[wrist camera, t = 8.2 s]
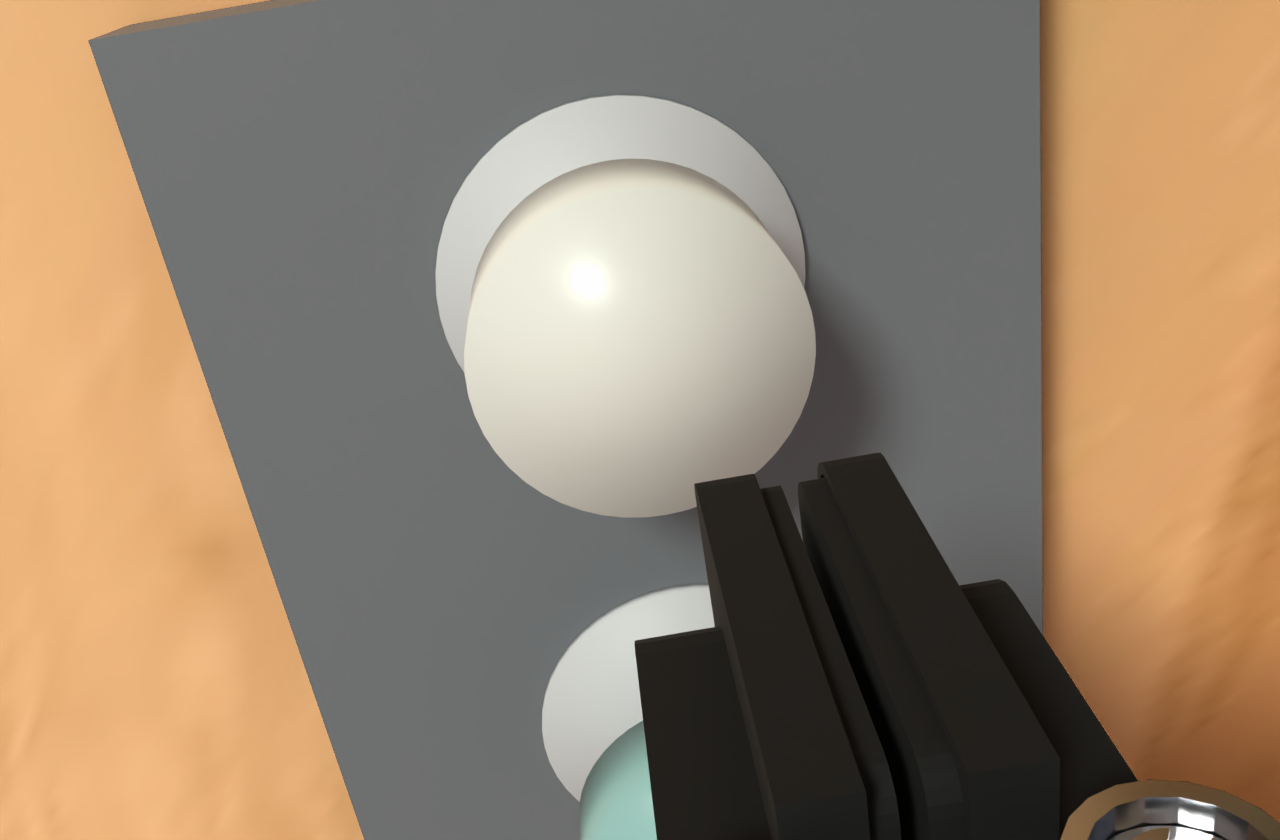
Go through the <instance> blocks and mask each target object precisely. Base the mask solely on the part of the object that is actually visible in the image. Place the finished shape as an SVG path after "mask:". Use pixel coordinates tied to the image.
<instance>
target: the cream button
mask: <svg viewBox="0 0 1280 840" xmlns="http://www.w3.org/2000/svg"><path fill="white" fill-rule="evenodd" d="M815 358H816V339H815V328H814V322H813V316H812V311H811V308H810V305H809V301H808V298H807V295H806V292H805V290H804V288H803V286H802V283H801V281H800V279H799V277H798V275H797V273H796V271H795V270H794V268H793V267H792V265H791V264H790V262H789V261H788V259H787V258H786V256H785V255H784V253H783V252H782V251H781V249H780V248H779V246H778V245H777V243H776V242H775V240H774V239H773V238H772V236H771V235H770V233H769V232H768V230H767V229H766V228H765V226H764V225H763V223H762V222H761V220H760V219H759V218H758V216H757V215H756V214H755V213H754V212H753V211H752V210H751V209H750V207H749V206H748V205H747V204H746V203H745V202H744V201H743V200H742V199H740V198H739V197H738V196H737V195H736V194H734V193H733V192H732V191H731V190H730V189H728V188H727V187H725V186H724V185H722V184H720V183H719V182H717V181H716V180H714V179H712V178H711V177H709V176H706V175H704V174H702V173H700V172H698V171H695V170H693V169H691V168H687V167H684V166H681V165H677V164H674V163H670V162H664V161H658V160H651V159H618V160H609V161H602V162H598V163H594V164H590V165H586V166H582V167H580V168H577V169H574V170H572V171H569V172H567V173H564V174H562V175H560V176H558V177H556V178H554V179H553V180H551V181H549V182H547V183H545V184H544V185H542V186H541V187H539V188H538V189H537V190H535V191H534V192H532V193H531V194H530V195H528V196H527V197H526V198H524V199H523V200H522V201H521V202H520V203H519V204H518V205H517V206H516V207H515V208H514V209H513V210H512V211H511V212H510V213H509V214H508V215H507V217H506V218H505V219H504V220H503V222H502V223H501V224H500V225H499V227H498V228H497V229H496V231H495V232H494V234H493V236H492V238H491V239H490V241H489V243H488V244H487V246H486V248H485V250H484V252H483V255H482V257H481V259H480V262H479V264H478V267H477V270H476V274H475V278H474V281H473V285H472V291H471V299H470V307H469V315H468V324H467V332H466V340H465V348H464V373H465V380H466V386H467V392H468V397H469V400H470V403H471V406H472V409H473V412H474V415H475V418H476V420H477V422H478V424H479V426H480V428H481V430H482V432H483V434H484V436H485V437H486V439H487V440H488V442H489V443H490V445H491V446H492V448H493V449H494V451H495V452H496V454H497V455H498V456H499V457H500V458H501V459H502V460H503V462H504V463H505V464H506V465H507V466H508V467H509V468H510V469H511V470H512V471H513V472H514V473H515V474H517V475H518V476H519V477H520V478H521V479H522V480H523V481H525V482H526V483H527V484H529V485H530V486H532V487H533V488H535V489H536V490H538V491H539V492H541V493H542V494H544V495H546V496H548V497H550V498H552V499H554V500H556V501H558V502H560V503H562V504H565V505H568V506H570V507H573V508H576V509H579V510H582V511H586V512H590V513H595V514H599V515H604V516H614V517H623V518H640V517H654V516H662V515H669V514H673V513H677V512H681V511H685V510H689V509H692V508H694V507H697V504H696V497H695V488H694V484H695V483H701V482H707V481H712V480H718V479H724V478H730V477H736V476H742V475H748V474H755V473H756V472H757V471H759V470H760V469H761V468H762V467H763V466H764V465H765V464H766V463H767V462H768V461H769V460H770V459H771V458H772V457H773V456H774V454H775V453H776V452H777V451H778V450H779V449H780V447H781V446H782V444H783V443H784V442H785V440H786V439H787V438H788V436H789V435H790V433H791V432H792V430H793V428H794V426H795V424H796V423H797V421H798V419H799V417H800V415H801V413H802V410H803V408H804V405H805V403H806V400H807V398H808V395H809V391H810V387H811V383H812V379H813V375H814V366H815Z"/></svg>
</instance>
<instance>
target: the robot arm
mask: <svg viewBox="0 0 1280 840" xmlns="http://www.w3.org/2000/svg"><path fill="white" fill-rule="evenodd" d="M817 477H818V479H814V480H808V481H802V482H799V483H798V500H799V510H800V519H801V529H802V538H803V541H802V538H801V536H800V533H799V530H798V528H797V525H796V523H795V520H794V518H793V515H792V512H791V510H790V507H789V505H788V502H787V499H786V497H785V494H784V492H783V489H782V487H781V486H780V485H778V486H773V487H767V488H761V489H760V487H759V484H758V482H757V479H756V476H755V474H748V475H742V476H736V477H730V478H724V479H718V480H712V481H707V482H701V483H695V484H694V488H695V497H696V504H697V511H698V518H699V524H700V531H701V538H702V544H703V551H704V558H705V564H706V571H707V578H708V585H709V591H710V598H711V605H712V611H713V618H714V625H715V627H712V628H706V629H700V630H694V631H688V632H682V633H676V634H670V635H665V636H659V637H653V638H647V639H641V640H635V643H634V645H635V655H636V664H637V672H638V681H639V690H640V698H641V707H642V715H643V724H644V733H645V741H646V750H647V758H648V767H649V776H650V784H651V793H652V801H653V810H654V818H655V827H656V836H657V840H1280V823H1279V822H1277V821H1276V820H1275V819H1274V818H1272V817H1271V816H1270V815H1268V814H1267V813H1266V812H1265V811H1263V810H1262V809H1260V808H1258V807H1256V806H1254V805H1252V804H1250V803H1248V802H1246V801H1244V800H1242V799H1240V798H1238V797H1235V796H1233V795H1231V794H1229V793H1227V792H1225V791H1221V790H1217V789H1214V788H1210V787H1206V786H1202V785H1198V784H1194V783H1191V782H1185V781H1168V780H1151V779H1149V780H1143V781H1138V780H1137V779H1136V777H1135V776H1134V774H1133V773H1132V771H1131V770H1130V768H1129V767H1128V765H1127V764H1126V762H1125V761H1124V759H1123V757H1122V756H1121V754H1120V753H1119V751H1118V750H1117V748H1116V747H1115V745H1114V744H1113V742H1112V741H1111V739H1110V738H1109V736H1108V735H1107V733H1106V731H1105V730H1104V728H1103V727H1102V725H1101V724H1100V722H1099V721H1098V719H1097V718H1096V716H1095V715H1094V713H1093V712H1092V710H1091V709H1090V707H1089V705H1088V704H1087V702H1086V701H1085V699H1084V698H1083V696H1082V695H1081V693H1080V692H1079V690H1078V689H1077V687H1076V686H1075V684H1074V683H1073V681H1072V679H1071V678H1070V676H1069V675H1068V673H1067V672H1066V670H1065V669H1064V667H1063V666H1062V664H1061V663H1060V661H1059V660H1058V658H1057V657H1056V655H1055V653H1054V652H1053V650H1052V649H1051V647H1050V646H1049V644H1048V643H1047V641H1046V640H1045V638H1044V637H1043V635H1042V634H1041V632H1040V631H1039V629H1038V627H1037V626H1036V624H1035V623H1034V621H1033V620H1032V618H1031V617H1030V615H1029V614H1028V612H1027V611H1026V609H1025V608H1024V606H1023V604H1022V603H1021V601H1020V600H1019V598H1018V597H1017V595H1016V594H1015V592H1014V591H1013V590H1012V589H1011V587H1010V586H1009V585H1008V584H1007V583H1006V582H1005V581H1003V580H1000V579H995V580H989V581H983V582H977V583H972V584H966V585H960V586H959V584H958V583H957V581H956V579H955V577H954V576H953V574H952V572H951V571H950V569H949V567H948V565H947V564H946V562H945V560H944V559H943V557H942V555H941V553H940V552H939V550H938V548H937V547H936V545H935V543H934V541H933V540H932V538H931V536H930V535H929V533H928V531H927V529H926V528H925V526H924V524H923V523H922V521H921V519H920V517H919V516H918V514H917V512H916V510H915V509H914V507H913V505H912V504H911V502H910V500H909V498H908V497H907V495H906V493H905V492H904V490H903V488H902V486H901V485H900V483H899V481H898V480H897V478H896V476H895V474H894V473H893V471H892V469H891V468H890V466H889V464H888V462H887V461H886V459H885V457H884V456H883V455H882V454H881V453H872V454H866V455H860V456H854V457H848V458H843V459H837V460H831V461H825V462H819V464H818V473H817Z"/></svg>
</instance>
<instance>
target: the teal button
mask: <svg viewBox="0 0 1280 840" xmlns="http://www.w3.org/2000/svg"><path fill="white" fill-rule="evenodd" d="M579 835H580V840H657V836H656V827H655V818H654V810H653V801H652V793H651V784H650V776H649V767H648V758H647V750H646V741H645V733H644V724H643V721H641V722H639V723H638V724H636V725H635V726H633V727H631V728H630V729H628V730H627V731H626V732H625V733H623V734H622V735H621V736H620V737H618V738H617V739H616V740H615V741H614V742H613V743H612V744H611V745H610V746H609V747H608V748H607V749H606V750H605V751H604V752H603V753H602V755H601V756H600V757H599V759H598V760H597V761H596V763H595V764H594V766H593V768H592V769H591V771H590V773H589V775H588V777H587V779H586V781H585V784H584V787H583V789H582V793H581V798H580V803H579Z"/></svg>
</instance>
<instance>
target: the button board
mask: <svg viewBox="0 0 1280 840" xmlns="http://www.w3.org/2000/svg"><path fill="white" fill-rule="evenodd" d="M88 41H89V44H90V47H91V49H92V52H93V55H94V58H95V61H96V64H97V67H98V70H99V73H100V76H101V78H102V81H103V84H104V87H105V90H106V93H107V96H108V99H109V102H110V104H111V107H112V110H113V113H114V116H115V119H116V122H117V125H118V128H119V131H120V133H121V136H122V139H123V142H124V145H125V148H126V151H127V154H128V157H129V159H130V162H131V165H132V168H133V171H134V174H135V177H136V180H137V183H138V186H139V188H140V191H141V194H142V197H143V200H144V203H145V206H146V209H147V212H148V214H149V217H150V220H151V223H152V226H153V229H154V232H155V235H156V238H157V241H158V243H159V246H160V249H161V252H162V255H163V258H164V261H165V264H166V267H167V269H168V272H169V275H170V278H171V281H172V284H173V287H174V290H175V293H176V296H177V298H178V301H179V304H180V307H181V310H182V313H183V316H184V319H185V322H186V324H187V327H188V330H189V333H190V336H191V339H192V342H193V345H194V348H195V351H196V353H197V356H198V359H199V362H200V365H201V368H202V371H203V374H204V377H205V379H206V382H207V385H208V388H209V391H210V394H211V397H212V400H213V403H214V406H215V408H216V411H217V414H218V417H219V420H220V423H221V426H222V429H223V432H224V434H225V437H226V440H227V443H228V446H229V449H230V452H231V455H232V458H233V461H234V463H235V466H236V469H237V472H238V475H239V478H240V481H241V484H242V487H243V489H244V492H245V495H246V498H247V501H248V504H249V507H250V510H251V513H252V516H253V518H254V521H255V524H256V527H257V530H258V533H259V536H260V539H261V542H262V544H263V547H264V550H265V553H266V556H267V559H268V562H269V565H270V568H271V571H272V573H273V576H274V579H275V582H276V585H277V588H278V591H279V594H280V597H281V599H282V602H283V605H284V608H285V611H286V614H287V617H288V620H289V623H290V626H291V628H292V631H293V634H294V637H295V640H296V643H297V646H298V649H299V652H300V654H301V657H302V660H303V663H304V666H305V669H306V672H307V675H308V678H309V681H310V683H311V686H312V689H313V692H314V695H315V698H316V701H317V704H318V707H319V709H320V712H321V715H322V718H323V721H324V724H325V727H326V730H327V733H328V736H329V738H330V741H331V744H332V747H333V750H334V753H335V756H336V759H337V762H338V764H339V767H340V770H341V773H342V776H343V779H344V782H345V785H346V788H347V791H348V793H349V796H350V799H351V802H352V805H353V808H354V811H355V814H356V817H357V819H358V822H359V825H360V828H361V831H362V834H363V837H364V840H580V835H579V803H580V798H581V793H582V789H583V787H584V784H585V781H586V779H587V777H588V775H589V773H590V771H591V769H592V768H593V766H594V764H595V763H596V761H597V760H598V759H599V757H600V756H601V755H602V753H603V752H604V751H605V750H606V749H607V748H608V747H609V746H610V745H611V744H612V743H613V742H614V741H615V740H616V739H617V738H618V737H620V736H621V735H622V734H623V733H625V732H626V731H627V730H628V729H630V728H631V727H633V726H635V725H636V724H638V723H639V722H641V721H643V715H642V707H641V698H640V690H639V681H638V672H637V664H636V655H635V645H634V643H635V640H641V639H647V638H653V637H659V636H665V635H670V634H676V633H682V632H688V631H694V630H700V629H706V628H712V627H715V625H714V618H713V611H712V605H711V598H710V591H709V585H708V578H707V571H706V564H705V558H704V551H703V544H702V538H701V531H700V524H699V518H698V511H697V507H694V508H692V509H689V510H685V511H681V512H677V513H673V514H669V515H662V516H654V517H640V518H623V517H614V516H604V515H599V514H595V513H590V512H586V511H582V510H579V509H576V508H573V507H570V506H568V505H565V504H562V503H560V502H558V501H556V500H554V499H552V498H550V497H548V496H546V495H544V494H542V493H541V492H539V491H538V490H536V489H535V488H533V487H532V486H530V485H529V484H527V483H526V482H525V481H523V480H522V479H521V478H520V477H519V476H518V475H517V474H515V473H514V472H513V471H512V470H511V469H510V468H509V467H508V466H507V465H506V464H505V463H504V462H503V460H502V459H501V458H500V457H499V456H498V455H497V454H496V452H495V451H494V449H493V448H492V446H491V445H490V443H489V442H488V440H487V439H486V437H485V436H484V434H483V432H482V430H481V428H480V426H479V424H478V422H477V420H476V418H475V415H474V412H473V409H472V406H471V403H470V400H469V397H468V392H467V386H466V380H465V373H464V348H465V340H466V332H467V324H468V315H469V307H470V299H471V291H472V285H473V281H474V278H475V274H476V270H477V267H478V264H479V262H480V259H481V257H482V255H483V252H484V250H485V248H486V246H487V244H488V243H489V241H490V239H491V238H492V236H493V234H494V232H495V231H496V229H497V228H498V227H499V225H500V224H501V223H502V222H503V220H504V219H505V218H506V217H507V215H508V214H509V213H510V212H511V211H512V210H513V209H514V208H515V207H516V206H517V205H518V204H519V203H520V202H521V201H522V200H523V199H524V198H526V197H527V196H528V195H530V194H531V193H532V192H534V191H535V190H537V189H538V188H539V187H541V186H542V185H544V184H545V183H547V182H549V181H551V180H553V179H554V178H556V177H558V176H560V175H562V174H564V173H567V172H569V171H572V170H574V169H577V168H580V167H582V166H586V165H590V164H594V163H598V162H602V161H609V160H618V159H651V160H658V161H664V162H670V163H674V164H677V165H681V166H684V167H687V168H691V169H693V170H695V171H698V172H700V173H702V174H704V175H706V176H709V177H711V178H712V179H714V180H716V181H717V182H719V183H720V184H722V185H724V186H725V187H727V188H728V189H730V190H731V191H732V192H733V193H734V194H736V195H737V196H738V197H739V198H740V199H742V200H743V201H744V202H745V203H746V204H747V205H748V206H749V207H750V209H751V210H752V211H753V212H754V213H755V214H756V215H757V216H758V218H759V219H760V220H761V222H762V223H763V225H764V226H765V228H766V229H767V230H768V232H769V233H770V235H771V236H772V238H773V239H774V240H775V242H776V243H777V245H778V246H779V248H780V249H781V251H782V252H783V253H784V255H785V256H786V258H787V259H788V261H789V262H790V264H791V265H792V267H793V268H794V270H795V271H796V273H797V275H798V277H799V279H800V281H801V283H802V286H803V288H804V290H805V292H806V295H807V298H808V301H809V305H810V308H811V311H812V316H813V322H814V328H815V339H816V358H815V366H814V375H813V379H812V383H811V387H810V391H809V395H808V398H807V400H806V403H805V405H804V408H803V410H802V413H801V415H800V417H799V419H798V421H797V423H796V424H795V426H794V428H793V430H792V432H791V433H790V435H789V436H788V438H787V439H786V440H785V442H784V443H783V444H782V446H781V447H780V449H779V450H778V451H777V452H776V453H775V454H774V456H773V457H772V458H771V459H770V460H769V461H768V462H767V463H766V464H765V465H764V466H763V467H762V468H761V469H760V470H759V471H757V472H756V473H755V476H756V479H757V482H758V484H759V487H760V489H761V488H767V487H773V486H778V485H780V486H781V487H782V489H783V492H784V494H785V497H786V499H787V502H788V505H789V507H790V510H791V512H792V515H793V518H794V520H795V523H796V525H797V528H798V530H799V533H800V536H801V538H802V529H801V519H800V510H799V500H798V483H799V482H802V481H808V480H814V479H818V477H817V473H818V464H819V462H825V461H831V460H837V459H843V458H848V457H854V456H860V455H866V454H872V453H881V454H882V455H883V456H884V457H885V459H886V461H887V462H888V464H889V466H890V468H891V469H892V471H893V473H894V474H895V476H896V478H897V480H898V481H899V483H900V485H901V486H902V488H903V490H904V492H905V493H906V495H907V497H908V498H909V500H910V502H911V504H912V505H913V507H914V509H915V510H916V512H917V514H918V516H919V517H920V519H921V521H922V523H923V524H924V526H925V528H926V529H927V531H928V533H929V535H930V536H931V538H932V540H933V541H934V543H935V545H936V547H937V548H938V550H939V552H940V553H941V555H942V557H943V559H944V560H945V562H946V564H947V565H948V567H949V569H950V571H951V572H952V574H953V576H954V577H955V579H956V581H957V583H958V584H959V586H960V585H966V584H972V583H977V582H983V581H989V580H995V579H1000V580H1003V581H1005V582H1006V583H1007V584H1008V585H1009V586H1010V587H1011V589H1012V590H1013V591H1014V592H1015V594H1016V595H1017V597H1018V598H1019V600H1020V601H1021V603H1022V604H1023V606H1024V608H1025V609H1026V611H1027V612H1028V614H1029V615H1030V617H1031V618H1032V620H1033V621H1034V623H1035V624H1036V626H1037V627H1038V629H1039V631H1040V632H1041V634H1042V635H1043V588H1042V377H1041V166H1040V0H271V1H265V2H260V3H254V4H248V5H242V6H236V7H231V8H225V9H219V10H213V11H207V12H202V13H196V14H190V15H184V16H178V17H173V18H167V19H161V20H155V21H149V22H144V23H138V24H132V25H129V26H126V27H123V28H121V29H118V30H115V31H112V32H110V33H107V34H104V35H102V36H99V37H96V38H94V39H91V40H88ZM802 541H803V538H802Z"/></svg>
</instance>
